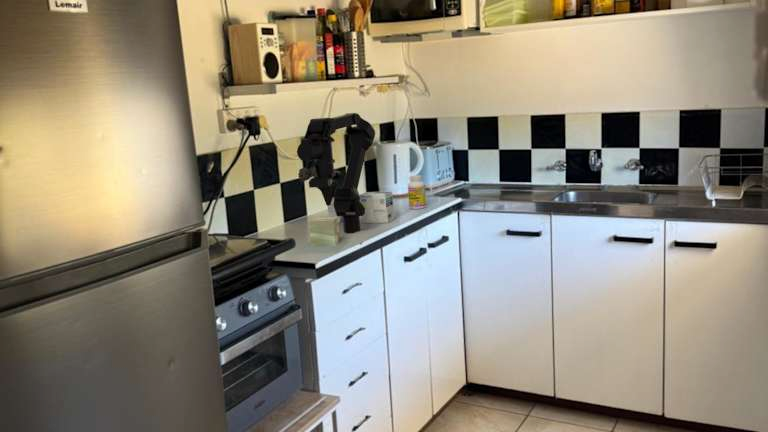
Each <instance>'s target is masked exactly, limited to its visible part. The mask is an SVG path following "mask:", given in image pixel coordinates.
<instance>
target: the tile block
mask: <svg viewBox="0 0 768 432" xmlns="http://www.w3.org/2000/svg"><path fill="white" fill-rule="evenodd" d="M308 228H309V237H310V238H309V239H310V243H311V246H336V245H337V244H338V243H339V242H340V241H341V240H340V231H339V223H338V218H337V217H335V218H329V217H321V218H320V217H319V218H318V217H317V218H312V219H311V220H309V221H308Z"/></svg>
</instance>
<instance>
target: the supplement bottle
mask: <svg viewBox="0 0 768 432" xmlns="http://www.w3.org/2000/svg"><path fill="white" fill-rule="evenodd" d="M422 179H423V178H422V175H421V174H420V175H418V174H417V175H410V176H409V180H410V181H409V183H408V184H407V190H408V191H407V192H408V206H409V207H408V208H409V209H410V210H422V208H423V209H425V208H426V207H427V202H426V187H425V183H424V181H422Z"/></svg>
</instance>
